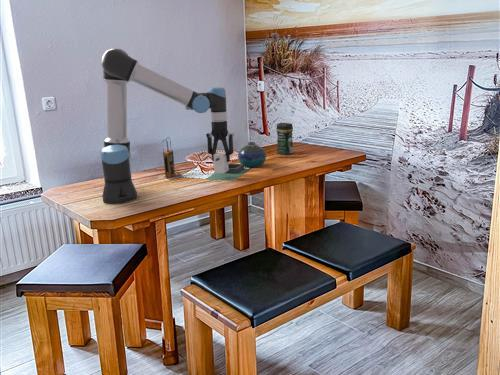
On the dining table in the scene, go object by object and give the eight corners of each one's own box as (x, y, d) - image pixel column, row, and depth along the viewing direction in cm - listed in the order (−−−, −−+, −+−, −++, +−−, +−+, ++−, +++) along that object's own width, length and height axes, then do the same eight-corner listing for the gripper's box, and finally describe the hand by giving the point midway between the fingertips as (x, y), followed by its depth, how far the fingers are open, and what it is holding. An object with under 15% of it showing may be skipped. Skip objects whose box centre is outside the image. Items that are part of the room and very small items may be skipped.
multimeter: (181, 179, 242) (177, 140, 237) (162, 179, 244) (158, 140, 239) (190, 172, 256) (187, 135, 251) (172, 172, 258) (169, 135, 253)
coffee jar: (274, 153, 291) (273, 123, 286) (283, 151, 297) (282, 121, 292) (286, 155, 285) (286, 124, 280) (295, 153, 290) (294, 122, 285)
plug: (222, 174, 230) (221, 156, 228) (212, 174, 232) (211, 155, 230) (229, 169, 239) (228, 152, 236) (219, 169, 241) (219, 151, 238)
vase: (270, 164, 266) (270, 140, 262) (259, 171, 252) (258, 146, 249) (245, 162, 272) (244, 139, 268) (233, 169, 259) (232, 144, 255)
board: (233, 183, 231) (233, 175, 230) (205, 182, 236) (204, 174, 234) (249, 171, 252) (249, 163, 251) (223, 170, 257) (222, 163, 256)
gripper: (239, 119, 230) (241, 167, 236) (205, 119, 236) (207, 165, 242) (233, 122, 223) (235, 170, 229) (198, 121, 229) (201, 169, 235)
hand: (221, 168), depth 236 cm, fingers closed on plug, 5 cm apart
